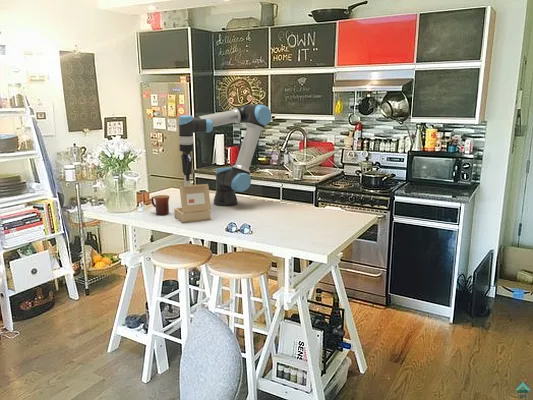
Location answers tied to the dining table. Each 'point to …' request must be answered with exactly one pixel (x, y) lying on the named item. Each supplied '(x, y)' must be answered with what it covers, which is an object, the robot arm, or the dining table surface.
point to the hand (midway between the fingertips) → (187, 186)
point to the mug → (161, 204)
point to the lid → (195, 198)
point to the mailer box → (192, 215)
